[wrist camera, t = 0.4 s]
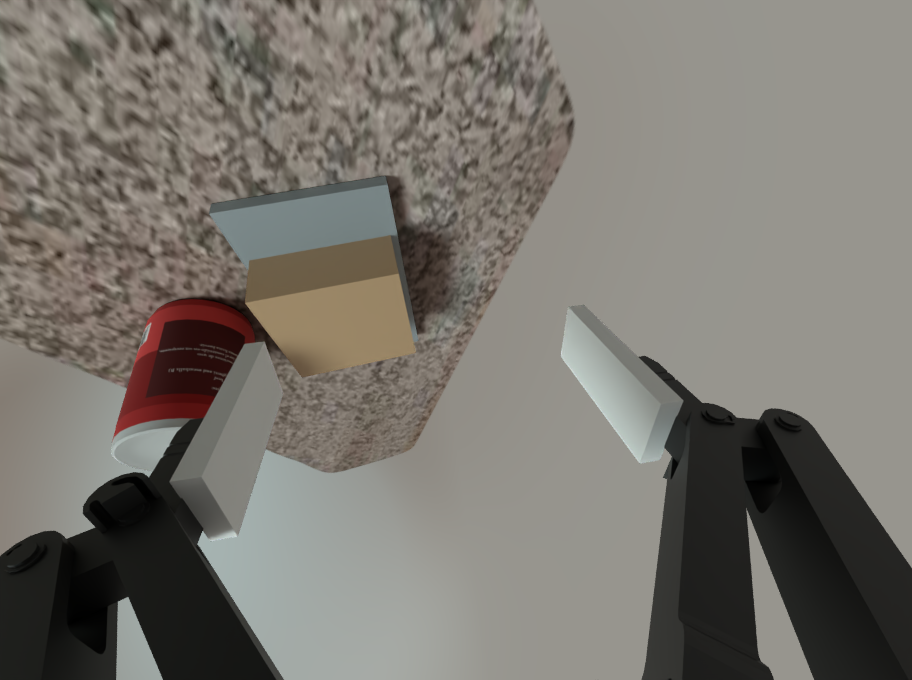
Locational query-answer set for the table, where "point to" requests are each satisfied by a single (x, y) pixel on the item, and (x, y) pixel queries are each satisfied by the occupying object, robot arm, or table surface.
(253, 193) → the table surface
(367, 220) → the plinth
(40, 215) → the table surface
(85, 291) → the table surface
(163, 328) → the canned food
